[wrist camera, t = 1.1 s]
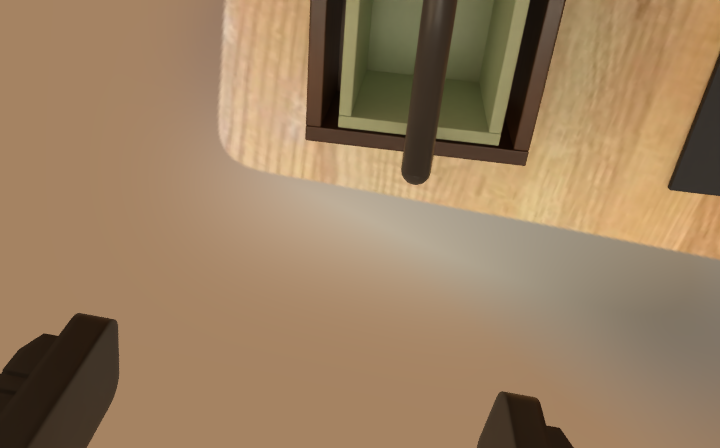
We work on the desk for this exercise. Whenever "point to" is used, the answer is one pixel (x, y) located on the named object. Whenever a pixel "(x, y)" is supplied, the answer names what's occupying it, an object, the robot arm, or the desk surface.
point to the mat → (702, 146)
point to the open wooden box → (511, 148)
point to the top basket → (429, 71)
